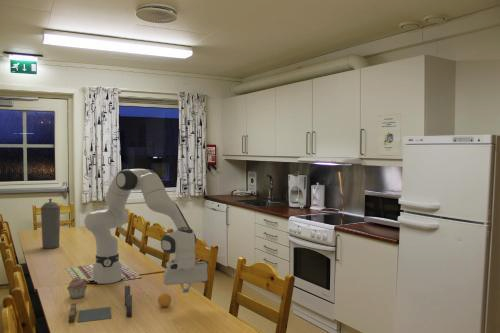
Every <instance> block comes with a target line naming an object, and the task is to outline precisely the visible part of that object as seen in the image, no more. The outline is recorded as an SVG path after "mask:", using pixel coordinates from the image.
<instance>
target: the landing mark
mask: <svg viewBox="0 0 500 333" xmlns="http://www.w3.org/2000/svg"><path fill="white" fill-rule="evenodd" d="M111 312H112V310H111V306H107V307H99V308H97V307H96V308H90V309H80V310H79V313H78V320H77V323H84V322H93V321H100V320H101V321H102V320H109V319H112V317H111V316H112V313H111Z"/></svg>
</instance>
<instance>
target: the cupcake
mask: <svg viewBox="0 0 500 333" xmlns="http://www.w3.org/2000/svg"><path fill="white" fill-rule="evenodd" d="M86 282H87V281H85V280H84V279H83V278H81V277H79V276H78V275H77V276H74V277H73V278H72V280H71V281H69V284H68V286H67V287H66V289H67V291H68V295H69V297H70V298H71V299H74V298H76V299H81V298H83V297H85V293H86V290H87V288H88V285H87V283H86Z"/></svg>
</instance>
